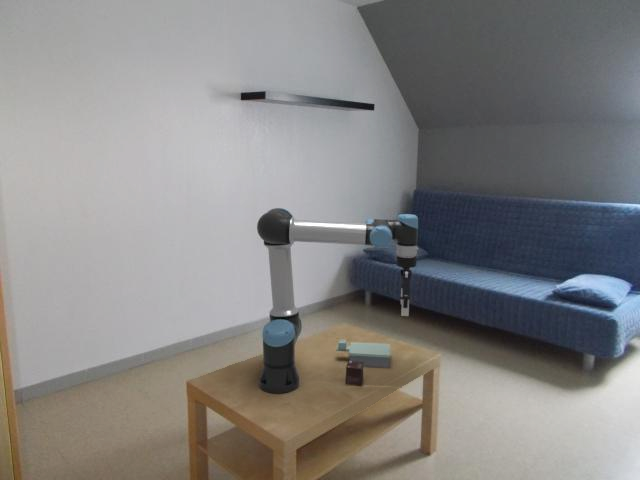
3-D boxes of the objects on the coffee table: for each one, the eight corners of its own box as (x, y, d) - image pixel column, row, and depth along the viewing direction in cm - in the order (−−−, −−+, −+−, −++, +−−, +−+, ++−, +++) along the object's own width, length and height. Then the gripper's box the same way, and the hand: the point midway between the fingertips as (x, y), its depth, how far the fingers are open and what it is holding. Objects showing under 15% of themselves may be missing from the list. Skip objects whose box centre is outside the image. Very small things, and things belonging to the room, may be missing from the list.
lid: (335, 354, 200) (335, 346, 200) (338, 343, 212) (338, 335, 211) (390, 357, 197) (390, 349, 197) (390, 346, 209) (390, 338, 208)
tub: (349, 366, 201) (349, 355, 200) (351, 355, 211) (351, 344, 211) (389, 368, 199) (389, 357, 198) (389, 357, 209) (389, 346, 208)
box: (361, 387, 184) (361, 368, 182) (345, 385, 185) (345, 367, 184) (363, 379, 190) (363, 361, 188) (348, 378, 191) (348, 360, 189)
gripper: (418, 263, 173) (415, 321, 176) (415, 249, 197) (413, 300, 201) (396, 262, 174) (394, 320, 178) (396, 248, 198) (394, 299, 202)
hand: (404, 309), depth 189 cm, fingers open, 13 cm apart
